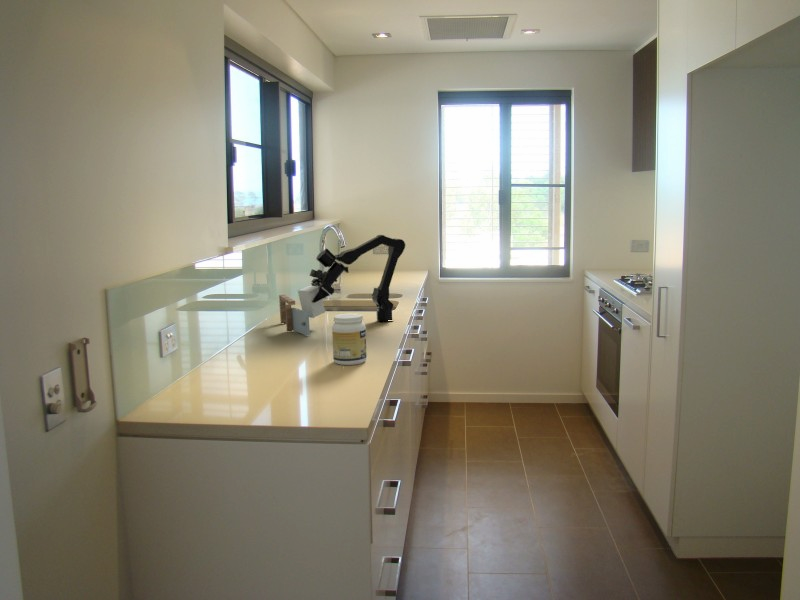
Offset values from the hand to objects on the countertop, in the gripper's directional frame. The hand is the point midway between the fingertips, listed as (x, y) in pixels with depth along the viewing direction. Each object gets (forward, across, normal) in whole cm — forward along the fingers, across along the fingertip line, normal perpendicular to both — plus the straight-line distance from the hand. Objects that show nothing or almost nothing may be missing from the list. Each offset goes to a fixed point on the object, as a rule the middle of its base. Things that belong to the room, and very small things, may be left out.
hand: (310, 300), depth 312 cm
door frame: (+16, -9, +2) cm, 18 cm away
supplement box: (+4, 0, +6) cm, 7 cm away
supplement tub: (+12, +66, +7) cm, 68 cm away
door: (+14, +9, +3) cm, 17 cm away
